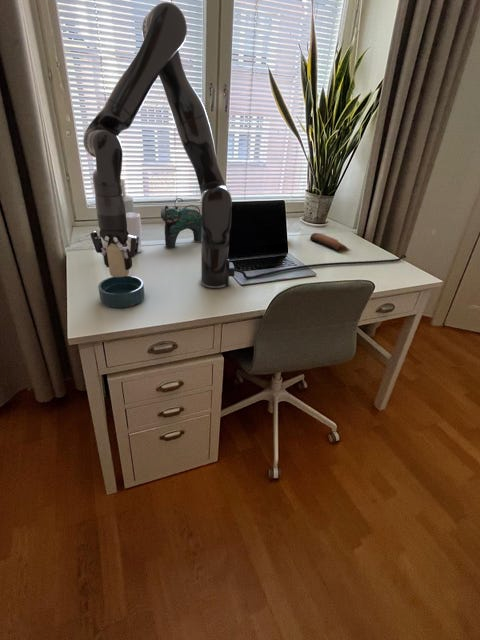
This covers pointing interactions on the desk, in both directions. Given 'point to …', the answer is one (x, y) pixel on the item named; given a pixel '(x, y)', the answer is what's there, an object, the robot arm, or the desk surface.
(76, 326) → the desk surface
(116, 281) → the bowl
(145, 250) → the desk surface
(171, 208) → the ceramic cat
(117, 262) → the candle
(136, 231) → the drinking glass
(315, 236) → the brown tapered cylinder
